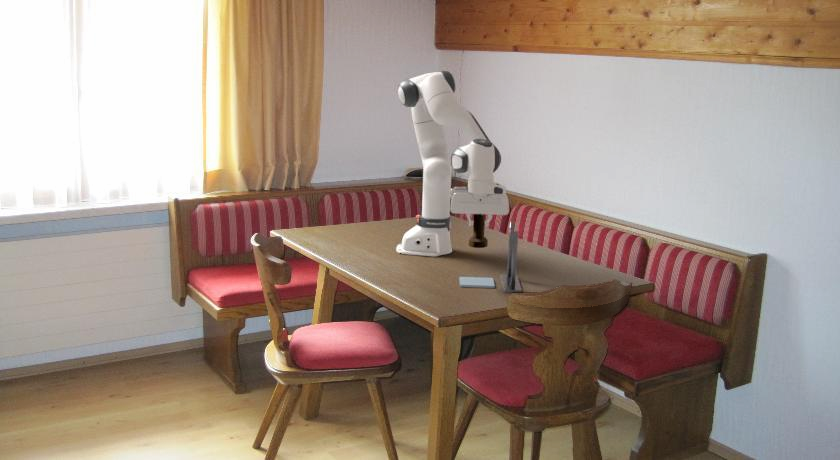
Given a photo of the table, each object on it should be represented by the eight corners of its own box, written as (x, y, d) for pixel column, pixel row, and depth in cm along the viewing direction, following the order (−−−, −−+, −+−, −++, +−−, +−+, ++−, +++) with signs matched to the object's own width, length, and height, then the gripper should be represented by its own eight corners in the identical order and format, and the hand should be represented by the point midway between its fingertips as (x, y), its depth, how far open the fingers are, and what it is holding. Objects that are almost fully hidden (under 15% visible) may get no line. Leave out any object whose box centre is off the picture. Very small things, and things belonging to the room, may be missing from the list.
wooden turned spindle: (475, 242, 305) (477, 192, 301) (490, 245, 301) (493, 195, 297) (465, 246, 299) (467, 195, 295) (481, 249, 296) (483, 197, 292)
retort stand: (504, 292, 294) (507, 232, 289) (500, 277, 312) (503, 220, 308) (521, 293, 294) (525, 233, 289) (516, 277, 312) (520, 221, 308)
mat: (460, 287, 298) (460, 284, 298) (459, 278, 308) (459, 276, 308) (494, 288, 298) (494, 285, 298) (492, 280, 308) (492, 277, 308)
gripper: (450, 187, 293) (449, 227, 296) (510, 189, 292) (508, 229, 295) (450, 184, 299) (448, 223, 302) (509, 186, 298) (507, 225, 302)
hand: (478, 226), depth 299 cm, fingers closed on wooden turned spindle, 4 cm apart
